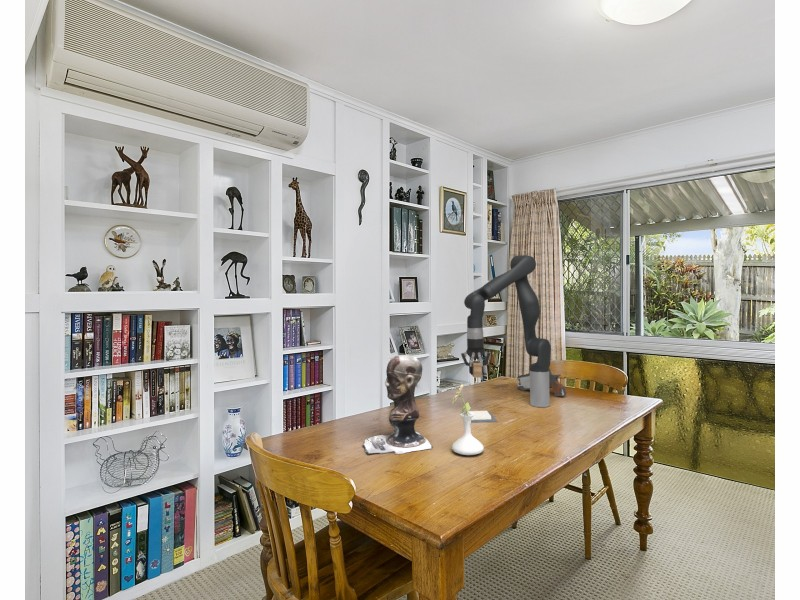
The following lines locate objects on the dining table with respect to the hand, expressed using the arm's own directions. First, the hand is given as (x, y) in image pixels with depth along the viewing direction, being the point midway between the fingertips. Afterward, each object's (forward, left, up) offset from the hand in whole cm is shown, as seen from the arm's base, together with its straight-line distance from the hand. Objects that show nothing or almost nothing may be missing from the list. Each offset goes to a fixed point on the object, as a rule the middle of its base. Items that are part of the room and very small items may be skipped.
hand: (476, 374), depth 208 cm
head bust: (+37, -38, -19) cm, 56 cm away
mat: (+5, 0, -19) cm, 19 cm away
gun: (-39, +42, -19) cm, 61 cm away
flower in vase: (+48, -12, -19) cm, 53 cm away
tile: (+2, 0, -17) cm, 17 cm away
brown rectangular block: (0, 0, -1) cm, 1 cm away
